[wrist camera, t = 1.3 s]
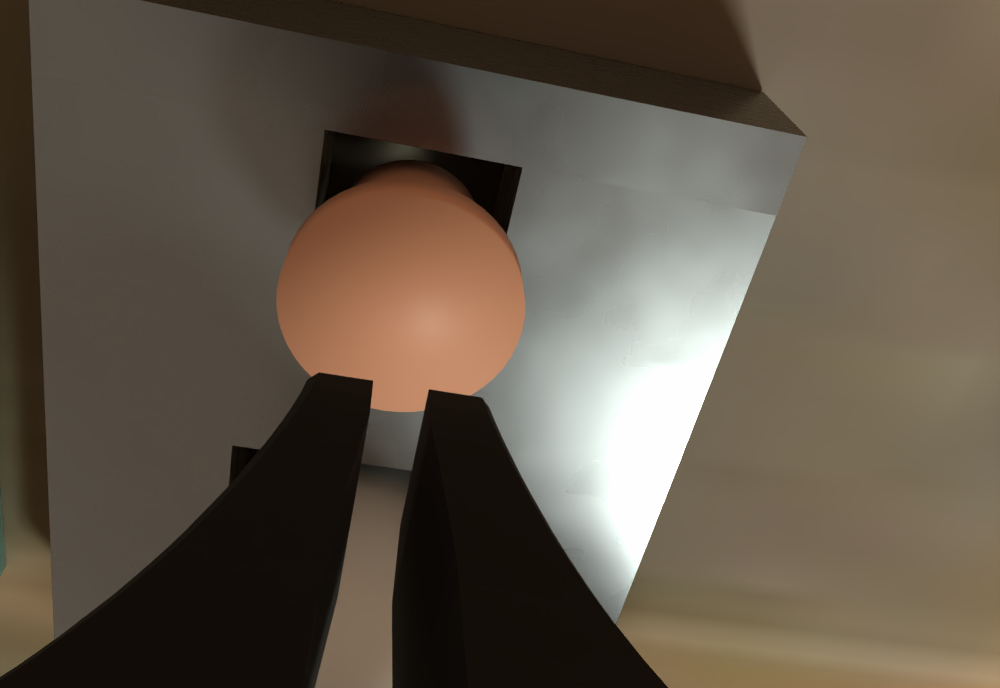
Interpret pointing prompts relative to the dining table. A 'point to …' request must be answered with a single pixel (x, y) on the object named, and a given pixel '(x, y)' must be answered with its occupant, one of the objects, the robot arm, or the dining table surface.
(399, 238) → the plunger
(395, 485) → the cylinder
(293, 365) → the housing
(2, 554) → the mat
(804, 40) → the dining table surface
